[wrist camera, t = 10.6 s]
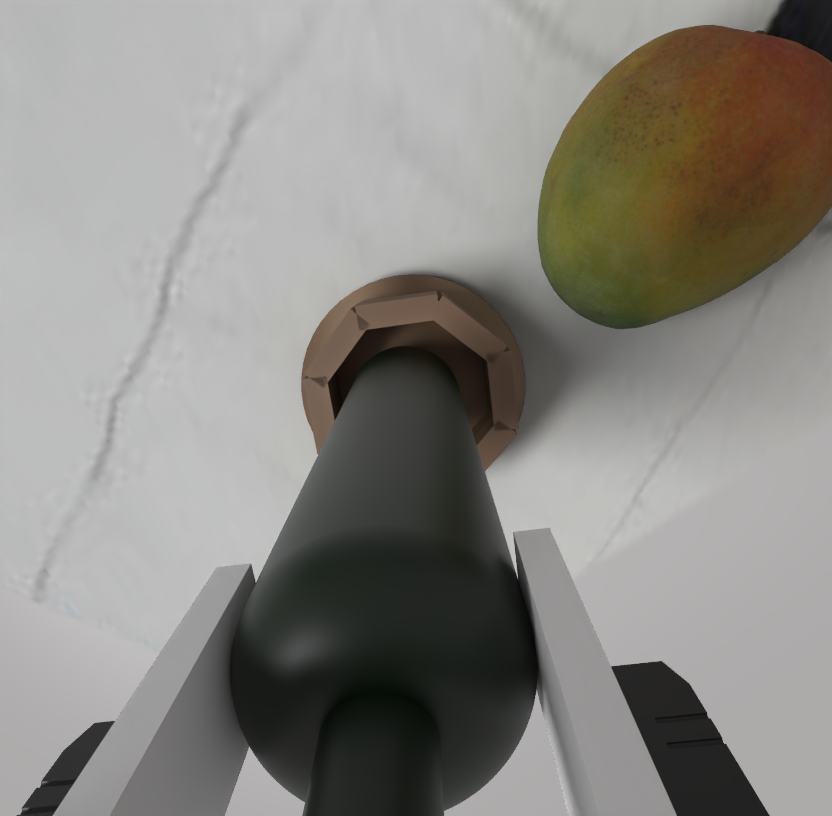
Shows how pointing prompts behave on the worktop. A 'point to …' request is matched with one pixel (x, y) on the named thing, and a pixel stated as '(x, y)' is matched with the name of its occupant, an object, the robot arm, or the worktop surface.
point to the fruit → (686, 174)
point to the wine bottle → (388, 612)
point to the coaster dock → (424, 328)
